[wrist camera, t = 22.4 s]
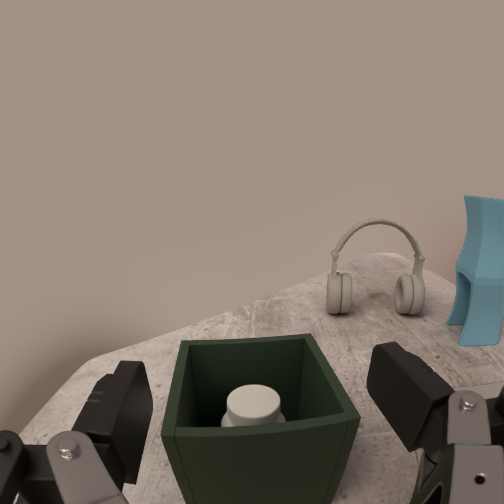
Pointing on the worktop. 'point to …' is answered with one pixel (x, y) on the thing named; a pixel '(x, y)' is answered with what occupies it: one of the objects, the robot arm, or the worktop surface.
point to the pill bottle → (252, 407)
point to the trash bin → (258, 436)
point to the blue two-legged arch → (480, 274)
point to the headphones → (407, 286)
